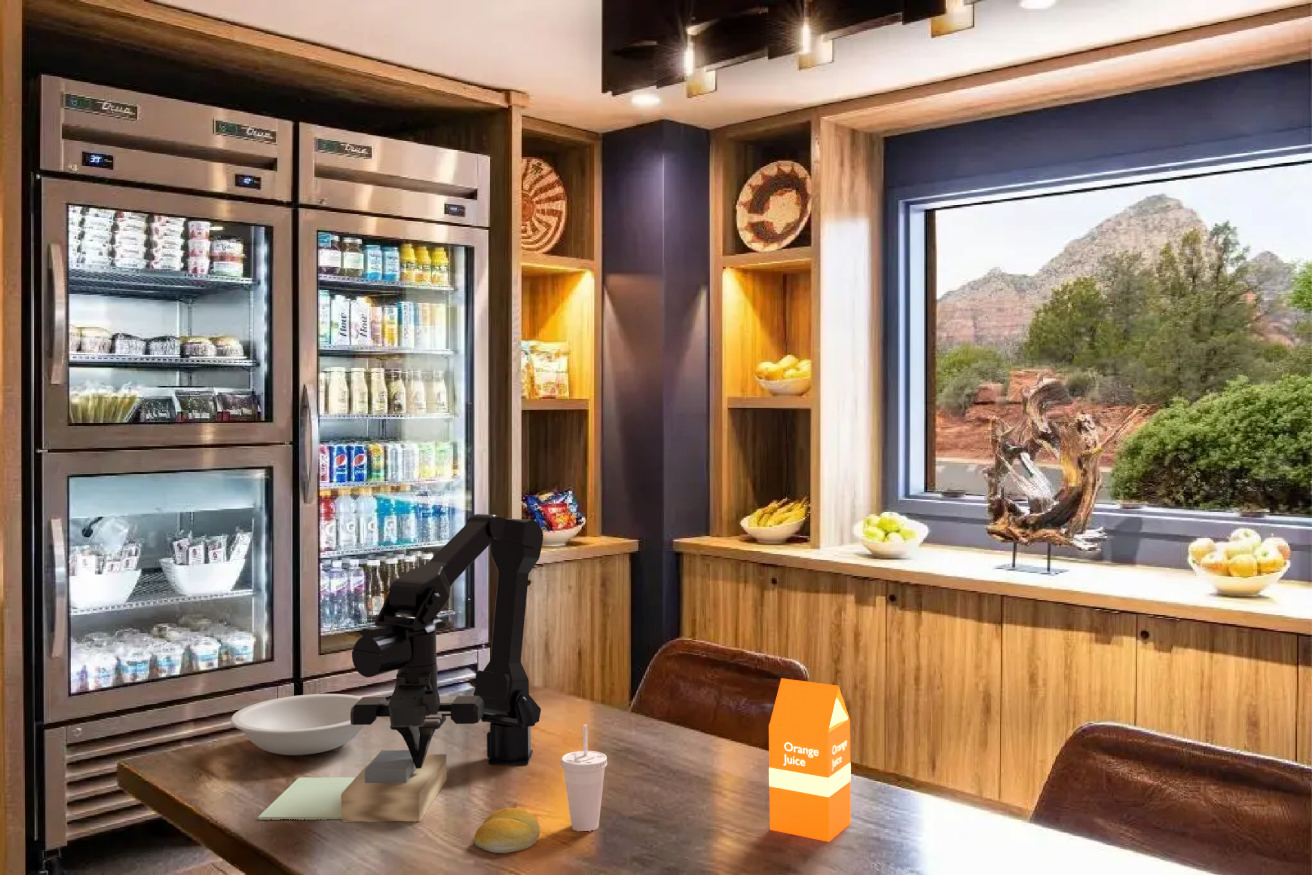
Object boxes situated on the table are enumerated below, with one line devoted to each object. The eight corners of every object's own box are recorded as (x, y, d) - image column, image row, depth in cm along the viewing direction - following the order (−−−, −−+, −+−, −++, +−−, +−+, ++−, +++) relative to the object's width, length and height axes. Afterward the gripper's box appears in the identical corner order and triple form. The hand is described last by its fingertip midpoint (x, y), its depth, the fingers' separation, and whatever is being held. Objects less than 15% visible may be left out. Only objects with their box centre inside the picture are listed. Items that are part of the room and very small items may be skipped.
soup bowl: (356, 772, 183) (355, 731, 183) (208, 772, 184) (207, 732, 184) (394, 729, 207) (393, 692, 207) (262, 729, 208) (261, 693, 208)
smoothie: (615, 821, 160) (613, 721, 160) (598, 837, 154) (596, 734, 153) (573, 816, 162) (571, 718, 162) (554, 832, 156) (552, 730, 156)
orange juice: (829, 842, 151) (827, 692, 151) (768, 829, 156) (767, 684, 155) (851, 823, 158) (850, 679, 157) (793, 811, 163) (792, 672, 162)
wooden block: (446, 779, 179) (446, 754, 179) (419, 821, 161) (418, 793, 161) (376, 779, 179) (376, 754, 179) (341, 821, 161) (341, 793, 161)
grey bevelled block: (420, 763, 174) (420, 750, 174) (406, 782, 165) (405, 769, 165) (381, 763, 174) (381, 750, 174) (365, 782, 165) (364, 769, 165)
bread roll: (467, 854, 150) (467, 823, 149) (489, 828, 158) (488, 800, 158) (528, 857, 148) (528, 826, 148) (547, 831, 157) (546, 802, 157)
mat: (374, 779, 179) (374, 777, 179) (341, 819, 162) (341, 816, 162) (298, 779, 179) (298, 777, 179) (258, 819, 162) (258, 816, 162)
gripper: (337, 676, 161) (340, 786, 162) (469, 675, 161) (472, 785, 161) (360, 659, 172) (362, 761, 173) (483, 657, 172) (485, 760, 172)
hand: (419, 767), depth 170 cm, fingers closed
